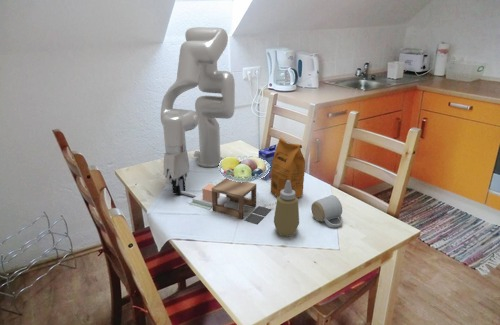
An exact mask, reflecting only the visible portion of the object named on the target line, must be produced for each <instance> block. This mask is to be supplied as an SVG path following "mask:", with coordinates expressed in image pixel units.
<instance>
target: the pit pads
mask: <svg viewBox="0 0 500 325" xmlns="http://www.w3.org/2000/svg"><path fill="white" fill-rule="evenodd" d="M271 211H272V209H271V208H268V207H265V206H260V205H258V206H256V207H255V209H254V210H253V211H252V212H251V213H250V214H249V215H247V217H246V218H245V219H243V220H244V222H248V223H251V224H255V225H258V224H259V223H261V221H262V220H264V218H265V217H266V216H267V215H268V214H269V213H270V212H271Z"/></svg>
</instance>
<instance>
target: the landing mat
mask: <svg viewBox="0 0 500 325" xmlns="http://www.w3.org/2000/svg"><path fill="white" fill-rule="evenodd" d="M188 203H189V205H192V206H196V207H199V208H202V209H206V210H211V209H213V207H210V206H207V205H203V204H200V203H196V202H193V200H192V201H190V202H188Z"/></svg>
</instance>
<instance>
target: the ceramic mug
mask: <svg viewBox="0 0 500 325" xmlns="http://www.w3.org/2000/svg"><path fill="white" fill-rule="evenodd" d="M310 208H311V215H312V216H313V217H314V219H315V220H316V221H317V222H325V224H326V225H327V226H328V227H330V228H334V229H335V228H338V227H340V226H341V225H342V223H343V217H342V214H343V206H342V203H341V201H340V199H339V197H337V196H336V195H333V194H331V195H328V196H325V197H323V198H320V199H317V200H315V201H313V203H312V204H311V207H310ZM336 218H338V219H339V223H338V224H334V223H331V222H330V221H329V220H333V219H336Z"/></svg>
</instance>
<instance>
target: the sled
mask: <svg viewBox="0 0 500 325" xmlns="http://www.w3.org/2000/svg"><path fill="white" fill-rule="evenodd" d="M174 181H175V180H174ZM178 185H180V195H185V196H189V197H192V201H193V202H196V203H200V204H203V205H207V206H210V207H212V208H213V206H212V202H210V201H206V200H203V194H202V191H201V192H200V193H199V194H196V193H193V192H191V191H190V192H189V191H187V190H186V191H184V189H183V179H180V178H178ZM217 200H218V205H222V206H226V205H227V204H229V203H230V202H231V201H230V198H228V197H226V196H223V195H220V197H219V198H218V199H217Z"/></svg>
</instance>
